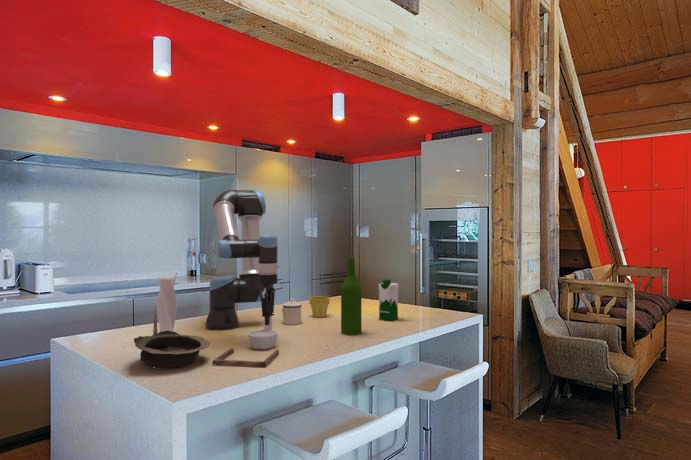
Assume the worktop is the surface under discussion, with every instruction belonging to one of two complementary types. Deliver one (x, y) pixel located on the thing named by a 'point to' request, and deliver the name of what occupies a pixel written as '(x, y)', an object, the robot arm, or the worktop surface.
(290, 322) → the teacup with lid
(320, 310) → the plant pot
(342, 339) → the worktop surface
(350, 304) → the wine bottle
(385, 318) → the milk carton
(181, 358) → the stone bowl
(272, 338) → the ramekin
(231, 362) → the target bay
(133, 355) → the worktop surface
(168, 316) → the skyscraper
